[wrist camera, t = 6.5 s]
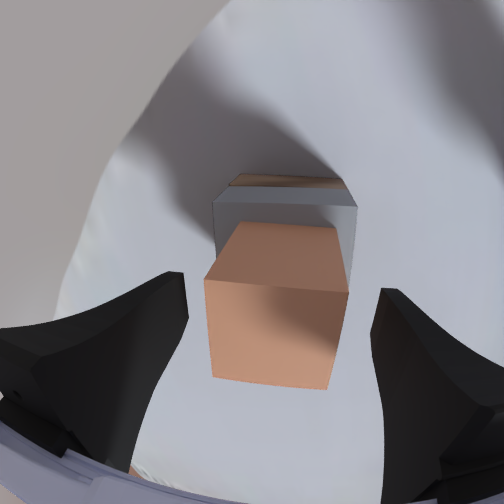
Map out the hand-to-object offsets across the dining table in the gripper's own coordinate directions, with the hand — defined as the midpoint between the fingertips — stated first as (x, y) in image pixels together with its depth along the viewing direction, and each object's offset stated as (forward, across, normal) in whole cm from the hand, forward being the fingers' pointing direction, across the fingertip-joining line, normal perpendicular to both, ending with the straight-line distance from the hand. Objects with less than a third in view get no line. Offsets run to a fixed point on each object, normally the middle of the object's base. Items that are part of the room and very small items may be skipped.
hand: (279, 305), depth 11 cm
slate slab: (+6, 0, 0) cm, 6 cm away
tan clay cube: (+3, 0, 0) cm, 3 cm away
